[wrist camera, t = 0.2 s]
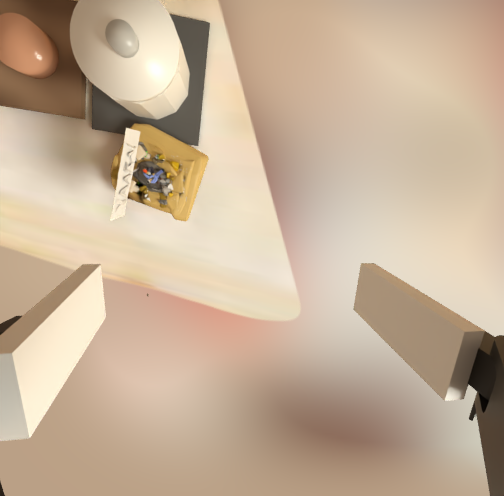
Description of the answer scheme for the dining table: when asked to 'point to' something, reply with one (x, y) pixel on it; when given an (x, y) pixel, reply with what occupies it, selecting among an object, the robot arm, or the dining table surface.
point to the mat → (189, 113)
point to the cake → (156, 172)
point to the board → (66, 75)
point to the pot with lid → (131, 54)
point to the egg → (26, 47)
